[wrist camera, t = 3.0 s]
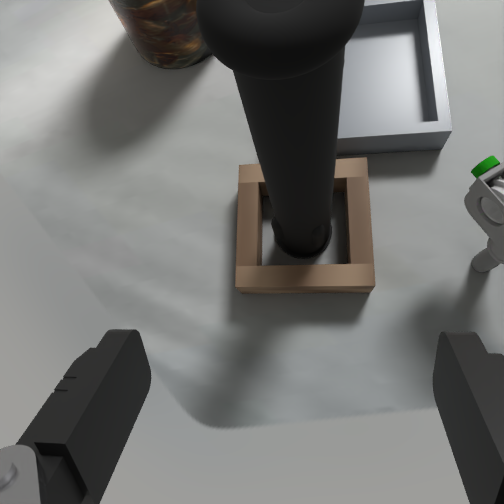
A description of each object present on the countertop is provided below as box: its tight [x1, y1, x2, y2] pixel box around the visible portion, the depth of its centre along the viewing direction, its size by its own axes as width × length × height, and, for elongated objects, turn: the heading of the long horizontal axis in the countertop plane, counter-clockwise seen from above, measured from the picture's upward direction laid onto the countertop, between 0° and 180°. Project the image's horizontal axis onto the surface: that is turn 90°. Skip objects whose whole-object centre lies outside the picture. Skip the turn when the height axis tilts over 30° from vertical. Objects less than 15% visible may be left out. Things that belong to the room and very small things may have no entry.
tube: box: [196, 0, 365, 259], centre depth 24 cm, size 25×6×6 cm
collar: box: [235, 157, 375, 294], centre depth 35 cm, size 11×11×3 cm
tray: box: [336, 0, 452, 156], centre depth 38 cm, size 15×15×3 cm
